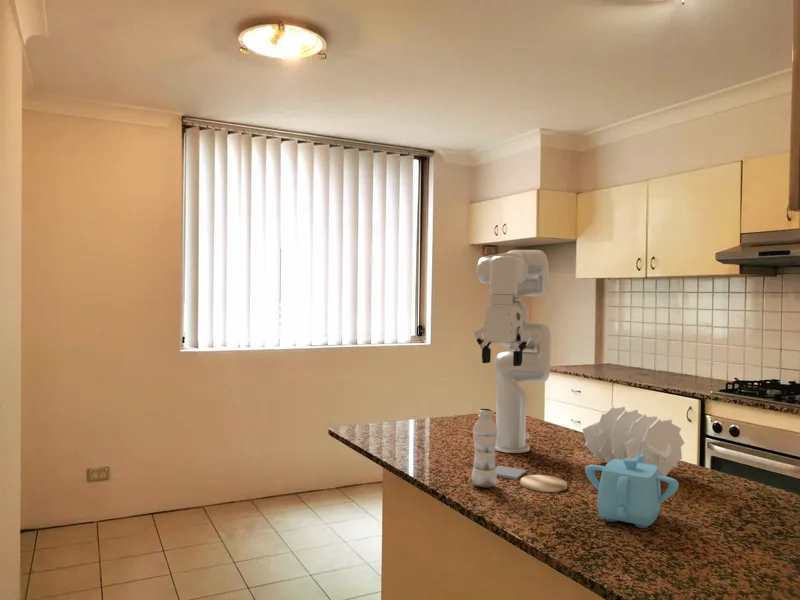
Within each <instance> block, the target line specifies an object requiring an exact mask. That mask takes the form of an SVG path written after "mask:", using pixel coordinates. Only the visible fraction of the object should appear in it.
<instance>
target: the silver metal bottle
mask: <svg viewBox="0 0 800 600" xmlns="http://www.w3.org/2000/svg"><path fill="white" fill-rule="evenodd" d="M493 411H494V410H493V409H491V408H479V409H478V415H477V416H478V419H477V421H476V422H475V424H473V427H472V433H473V434H472V436H473V437H472V438H473V443H474V445H473V446H474V447H473V448H474V457H473V467H472V470H471V471H472V472H471V479H472V483H473V484H474V486H476V487H480V488H492V487H494V486H495V485H496V483H497V478H498V477H497V472H496V469H495V468H496V467H497V466H496V450H495V446H496V439H497V431H498V430H497V427H496V422H494V420H493V418H494V415H493V414H494V412H493Z"/></svg>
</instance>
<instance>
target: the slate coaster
mask: <svg viewBox="0 0 800 600" xmlns="http://www.w3.org/2000/svg"><path fill="white" fill-rule="evenodd" d="M495 467H496V468H495V469H496V472H497V478H504V479H509V480H515V481H517V480H519V478H522V476H523V475H525V474H526V473H527V472H526V471H527V470H526V469H521V468H517V467H516V468H515V467H510V466H505V465H504V466H503V465H498V466H495Z"/></svg>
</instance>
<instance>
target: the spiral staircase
mask: <svg viewBox="0 0 800 600" xmlns="http://www.w3.org/2000/svg"><path fill="white" fill-rule="evenodd" d="M672 421H673V420H672V419H664V420H661V419H660V418H658V416H656V415H655V416H647V414H646V413H643V414H642V413H639V410H638V409H634V410H630V411H627V410H626V407H625V406H620V407H616V408H615V406H611V407H610V408H609V409H608V410H607V411H606V412H605V413H602V414H601V416H600V419H599V420H598V421H597V422H595V423H592V424H590V425H588V426H586V427H583V428H582V433H583V434H582V435H583V437H584V441H585V443H584V446H585V447H587V449H588V450H589V451H590V452H591V453H592V454H593V458H596V459H603V460H605V462H606V463H609V462H610V461H611V460H613V459H619V460H623V459H624V458H633V459H636V456H637V454H638V453H643V454H644V458H643V463H644V464H650V465H656V466H657V467H658V471H659V475H660V476H666V477H667V476H668V474H669V473H670V471H671V470H672V468H678V463H679V462H678V461H681V460H683V459H682V458H683V455H682V447H683V446H684V444H685V441H684V440H683V438H682V435H681V434H680V432H681V430H682V428H681V427H680V426H677V425H676V424H673V422H672Z"/></svg>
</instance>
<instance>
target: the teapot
mask: <svg viewBox="0 0 800 600" xmlns="http://www.w3.org/2000/svg"><path fill="white" fill-rule="evenodd" d="M643 458H644V454H643V453H638V454H637V456H636V459H633V458H624V459H623V460H619V459H613V460H611V461H610V462H609V463H608V462H606V464H605V466H604V465H600V464H589V465H586V466H585V467H584V472H585V475H586V477H587V478H588V480H589V482H591V484H592V485H593V486H594V487H595V489H596V490H597V511H598V516H600V517H602V518H604V519H605V520H606V521H608V522H617V521H619V522H624V523H629V524H634V526H635V527H636V528H640V529H647V528H648V527H650V526H651V525H652V524H654V523H655V521H656V520H657V519H658V517H659V515H660V514H659V513H660V512H661V511H660V510H661V506H662V505H661V504H662V503H663V502H665V501H666V500H668V499H669V498H671V497H672V496H673V495H674V494H675V493H676V492H677V491H678V489H679V486H680V484H679V481H678V480H677V479H675V478H673V477H671V476H670V477H669V476H667V475H666V476H662V475H661V476H660V475H659V471H658V467H657V466H656V465H650V464H644V463H643ZM595 471H601V474H600V479H599V480H598V478H597V476H596V474H595ZM661 482H664V483H666V484H667V487H666V490H665V491H663V494H662V489H661Z"/></svg>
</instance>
